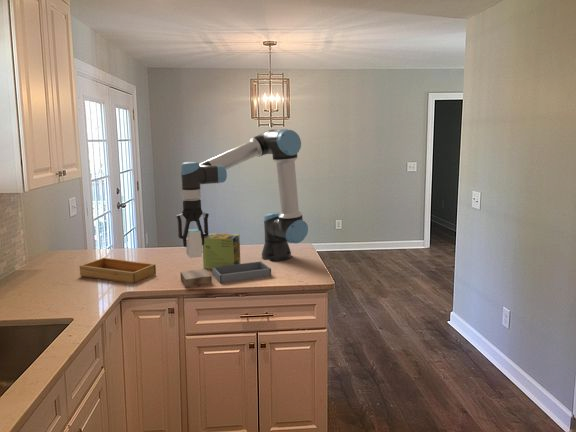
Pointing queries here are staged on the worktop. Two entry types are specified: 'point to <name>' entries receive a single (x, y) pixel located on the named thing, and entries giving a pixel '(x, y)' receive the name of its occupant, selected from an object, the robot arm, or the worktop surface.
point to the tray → (118, 270)
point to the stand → (195, 278)
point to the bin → (241, 272)
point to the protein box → (221, 250)
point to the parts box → (194, 243)
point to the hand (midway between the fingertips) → (194, 253)
